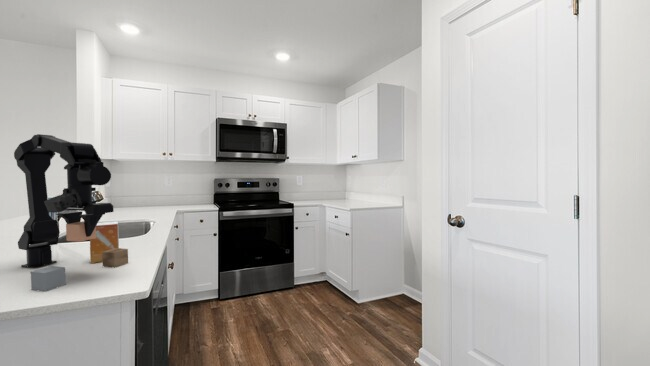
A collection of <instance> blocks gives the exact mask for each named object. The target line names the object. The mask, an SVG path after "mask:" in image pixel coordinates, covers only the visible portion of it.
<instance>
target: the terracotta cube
mask: <svg viewBox="0 0 650 366" xmlns="http://www.w3.org/2000/svg"><path fill="white" fill-rule="evenodd" d="M65 232H66V233H65V235H66V242H79V243H80V242H85V241H88V240H89V241H90V239H94V238H96V227H95V229H94V231H93V233H92V234H91V236H89V237H87V236H86V233H85V225H84V220H83V221H82V220H81V221H80V222H76V223H70V224H67V223H66V224H65Z"/></svg>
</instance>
